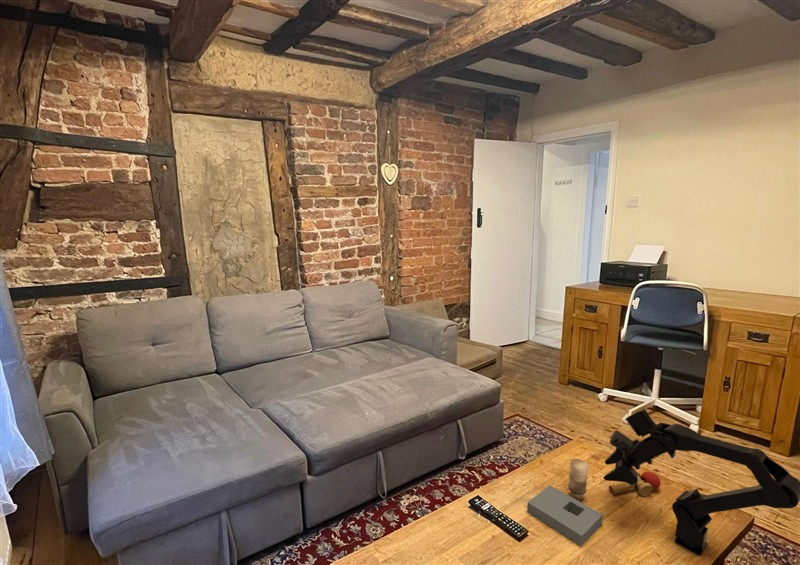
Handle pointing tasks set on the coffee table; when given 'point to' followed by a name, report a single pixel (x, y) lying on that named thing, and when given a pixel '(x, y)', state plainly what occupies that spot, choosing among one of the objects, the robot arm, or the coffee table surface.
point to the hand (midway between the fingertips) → (604, 470)
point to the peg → (578, 478)
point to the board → (565, 514)
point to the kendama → (639, 484)
